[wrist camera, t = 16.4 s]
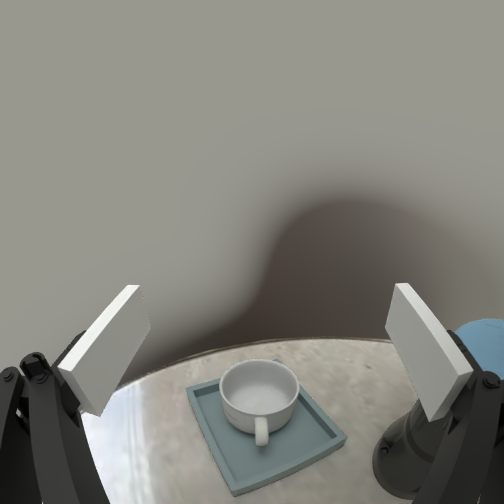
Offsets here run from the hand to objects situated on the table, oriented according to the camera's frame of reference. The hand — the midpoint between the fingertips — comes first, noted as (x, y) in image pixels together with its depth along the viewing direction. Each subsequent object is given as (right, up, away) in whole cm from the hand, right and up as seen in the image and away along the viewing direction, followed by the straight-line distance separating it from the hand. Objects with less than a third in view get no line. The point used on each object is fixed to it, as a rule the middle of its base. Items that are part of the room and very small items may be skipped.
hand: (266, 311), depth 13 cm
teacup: (0, -23, +22) cm, 32 cm away
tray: (0, -24, +22) cm, 32 cm away
